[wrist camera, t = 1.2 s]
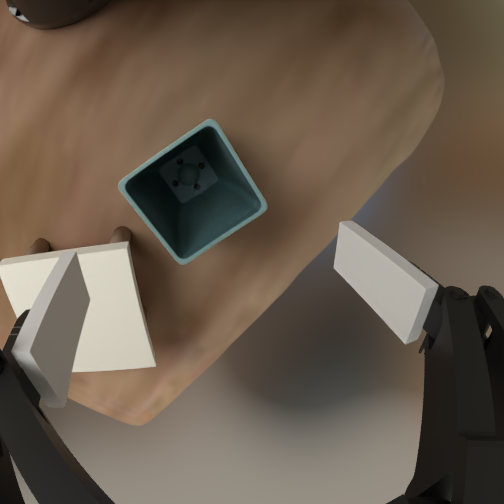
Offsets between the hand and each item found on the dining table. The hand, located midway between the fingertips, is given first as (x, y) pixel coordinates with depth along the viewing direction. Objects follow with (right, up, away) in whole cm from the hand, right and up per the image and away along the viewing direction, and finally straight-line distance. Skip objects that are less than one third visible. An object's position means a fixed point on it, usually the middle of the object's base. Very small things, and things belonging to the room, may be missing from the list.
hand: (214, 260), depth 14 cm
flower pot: (-5, +8, +16) cm, 19 cm away
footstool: (-17, -3, +18) cm, 25 cm away
